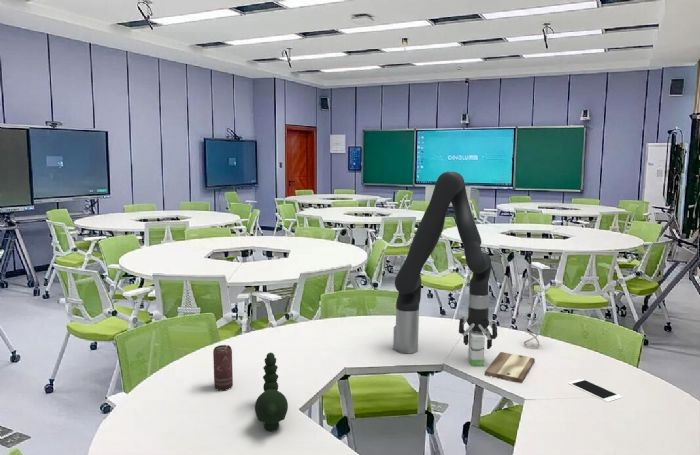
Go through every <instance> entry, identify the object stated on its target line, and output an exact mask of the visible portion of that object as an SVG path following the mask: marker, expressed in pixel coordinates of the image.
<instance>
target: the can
mask: <svg viewBox="0 0 700 455" xmlns="http://www.w3.org/2000/svg"><path fill="white" fill-rule="evenodd" d="M212 355H213V357H212V358H213V360H212V361H213V386H214V389H215V388H216V389H218V390H217V391H219V390H225V391H227V390H226V389H229V388H230V389H232V387H233V386H234V385H233V384H234V382H233V381H234V380H233V377H234V376H233V375H234V374H233V349H232V347H231V345H228V344H226V345H225V344H222V345H216V346H215V347H214V348H213V351H212ZM230 389H229V390H230Z"/></svg>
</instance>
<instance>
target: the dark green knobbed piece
mask: <svg viewBox="0 0 700 455" xmlns="http://www.w3.org/2000/svg"><path fill="white" fill-rule="evenodd" d="M264 364H265V365H264V366H263V368H262V369H263V371H264V375H263V376H262V379H263V380H264V383H263V388H262V389H263V392H262V393H260V395H259V396H258V397H257V399H256V401H255V404H254V413H255V415H256V417H257V420H258V421H259V422H261V423H264V424H263V428H264V429H265V431H269V432H274V431H277V430H279V428H280V422H281V421H285V419H286V416H287V413H288V409H289V402H288V400H287V398H286V397H287V396H285V394H283V393H282V392H281V391H279V383H278V379H279V375H278V374H277V370H278V368H279V367H278V365H276V364H277V357H275V354H274V352H268V353H267V354H266V356H265V358H264Z"/></svg>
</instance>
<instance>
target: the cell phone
mask: <svg viewBox="0 0 700 455" xmlns="http://www.w3.org/2000/svg"><path fill="white" fill-rule="evenodd" d="M567 384H568V385H570V386H572V385H573V386H572V387H574V386H575V387H574V388H576V387H577V389H578V388H579V389H578V390H581V391H583V392H586V393H587V394H589V395H591V396H593V397H595V398H598V399H600V400H602V401H604V402H606V403H610V402H613V401H616V400H620V399H623V398H624V396H622V395H621V394H619V393H615V392H613V391H611V390H609V389H607V388H605V387H602V386H600V385H598V384H595V383H594V382H592V381H589V380H587V379H585V378H579V379H575V380H572V381H568V382H567Z"/></svg>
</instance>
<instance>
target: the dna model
mask: <svg viewBox="0 0 700 455" xmlns="http://www.w3.org/2000/svg"><path fill="white" fill-rule="evenodd" d="M529 276H530V277H531V278H532V279H534V280H535V281H533V282H531V283H530V284H528V285H527V290H529V291H530V292H531V294H534V295H532V296H531V297H529V298H526V300H525V301H526V303H527V304H528V305H529V306H530V307H532V308H533V310H531V311H529V312H525V317H526V318H527V319H528V320H529V321H531V322H533V323H532V324H531V325H528V326H526V327H525V328H524V330H525V332H527V333H528V334H529V335H530V336H532V337H531V338H530V339H527V340H525V341H524V342H523V344H524V345H525V346H526V345H527V343H528V342H531V341H532V340H534V339H535V340H536V342H537V346H536V349H539V347H540V341H539V339H538V336H539V335H540V333H541V328H540V325H539V324H538V323H539V322H540V321H541V318H542V314H541V312H540V311H539V309H540V308H541V306H542V304H543V302H542V298H541V297H540V296H539V295H540V294H541V293H542V292H543V290H544V289H543V288H544V287H543V284H542V283H541V282H540V280H542V277H539V278H538V279H537V278H536V277H534V276H532V275H531V274H529ZM536 283H538V284H539V285H540V291H539V290H536V289H531V288H530V286H532V285H534V284H536ZM534 291H535V292H534ZM537 292H538V293H537ZM536 297H537V298H538V299H539V301H540V302H539V305H537V304H535V305H534V304H533V303H530V302H529V301H530V300H532V299H534V298H536ZM535 306H537V307H535ZM535 311H536V312H537V313H538V315H539V317H538V319H537V318H533V317H530V316H528V315H529V314H531V313H534V312H535ZM533 326H537V328H538V332H537V333H534V332H531V331H529V330H528V329H529V328H532V327H533Z"/></svg>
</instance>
